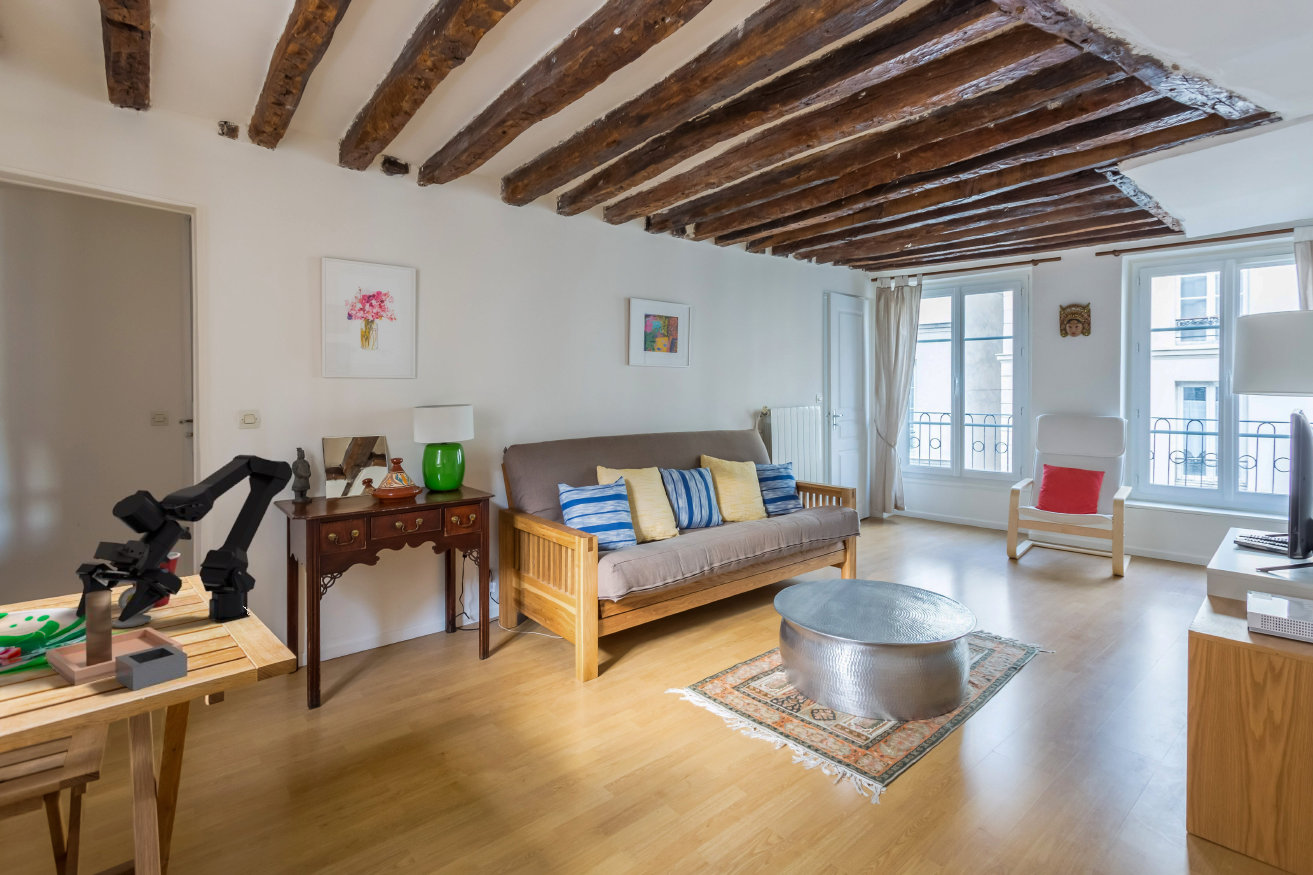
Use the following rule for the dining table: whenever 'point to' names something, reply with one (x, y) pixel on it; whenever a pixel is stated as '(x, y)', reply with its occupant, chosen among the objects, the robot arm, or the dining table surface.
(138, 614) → the pocket watch
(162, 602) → the plastic cup
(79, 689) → the dining table surface
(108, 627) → the dowel
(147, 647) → the tray
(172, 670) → the socket
